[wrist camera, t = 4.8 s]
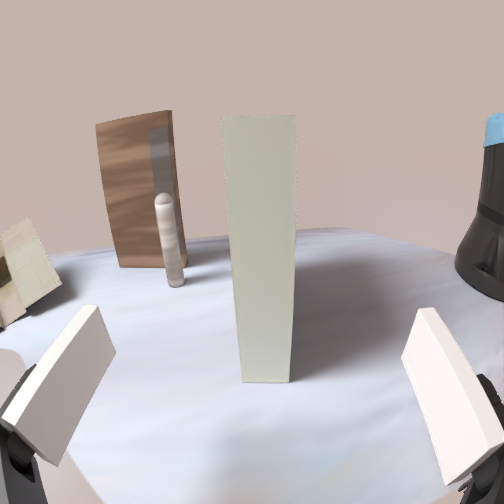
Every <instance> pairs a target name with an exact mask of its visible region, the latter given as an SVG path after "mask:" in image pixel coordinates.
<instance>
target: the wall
mask: <svg viewBox="0 0 504 504" xmlns="http://www.w3.org/2000/svg"><path fill="white" fill-rule="evenodd" d="M0 239H1V240H0V327H2V328H4V327H5V326H7V325H9V324H10V323H12V322H13V321H14V320H16V319H18V317H20V316H22V315H23V314H25V312H26V307H29V305H31V304H34V302H36V301H37V300H39V299H40V298H42V297H43V296H45V295H46V294H47V293H49V292H50V291H52V290H54V289H55V288H56V287H58V286H60V285H61V284H62V282H61V281H60V279H59V276H58V274H57V273H56V271H55V270H54V267H53V266H52V263H51V262H50V259H49V257H48V256H47V254H46V252H45V250H44V247H43V245H42V244H41V241H40V240H39V238H38V236H37V233H36V231H35V229H34V226H33V224H32V222H31V220H30V218H29V217H28V218H26V219H24V220H23V221H21V222H20V223H18V224H16V225H14V226H13V227H11V228H9V229H8V230H6V231H5V232H3V233H1V234H0Z"/></svg>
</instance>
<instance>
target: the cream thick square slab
mask: <svg viewBox="0 0 504 504" xmlns="http://www.w3.org/2000/svg"><path fill="white" fill-rule="evenodd" d="M221 119H222V138H223V154H224V170H225V186H226V201H227V215H228V229H229V242H230V255H231V267H232V279H233V291H234V302H235V313H236V324H237V335H238V345H239V355H240V365H241V375H242V382H247V383H289V372H290V358H291V342H292V325H293V305H294V280H295V247H296V124H295V115H256V116H236V117H222V118H221Z"/></svg>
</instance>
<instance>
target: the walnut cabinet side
mask: <svg viewBox="0 0 504 504" xmlns="http://www.w3.org/2000/svg"><path fill="white" fill-rule="evenodd" d="M96 136H97V145H98V155H99V162H100V170H101V177H102V183H103V189H104V195H105V201H106V206H107V212H108V217H109V222H110V227H111V232H112V236H113V241H114V245H115V249H116V254H117V258H118V262H119V266H120V267H138V268H166V273H167V278H168V283H169V286H170V287H180V286H182V285H184V283H185V279H184V273H183V268H185V267H186V265H187V263H188V258H187V251H186V245H185V237H184V231H183V223H182V215H181V207H180V198H179V189H178V180H177V170H176V162H175V161H176V159H175V149H174V137H173V122H172V111H170V110H165V111H159V112H153V113H147V114H142V115H137V116H131V117H126V118H122V119H117V120H113V121H108V122H104V123H100V124H96Z"/></svg>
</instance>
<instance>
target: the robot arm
mask: <svg viewBox="0 0 504 504" xmlns="http://www.w3.org/2000/svg"><path fill="white" fill-rule="evenodd" d="M483 148H485V151H484V163H483V172H482V181H481V188H480V194H479V201H478V207H477V212H476V216H475V218H474V220H473V222H472V224H471V225H470V228H469V229H468V231H467V233H466V235H465V236H464V238H463V240H462V242H461V244H460V245H459V247H458V250H457V254H456V258H455V268H456V270H457V272H458V273H459V274H460V276H461V277H462V278H463V279H464V280H465V281H466V282H468V283H469V284H470V285H471V286H473V287H474V288H476V289H477V290H479V291H481V292H482V293H484V294H486V295H488V296H490V297H493V298H495V299H498V300H501V301H504V113H496V114H493V115H491V116H490V117H489V118H488V120H487V122H486V132H485V143H484V144H483ZM115 354H116V351H115V349H114V346H113V344H112V341H111V339H110V337H109V334H108V332H107V329H106V326H105V324H104V321H103V318H102V316H101V313H100V310H99V307H98V306H95V305H85V304H84V306H83V307H82V308H81V309H80V310H79V312H78V313H77V314H76V315H75V316H74V318H73V319H72V320H71V321H70V323H69V324H68V325H67V326H66V328H65V329H64V330H63V331H62V333H61V334H60V335H59V336H58V338H57V339H56V340H55V341H54V343H53V344H52V345H51V347H50V348H49V349H48V351H47V352H46V353H45V355H44V356H43V357H42V359H41V360H40V361H39V363H38V364H34V365H33V366H32V367H31V368H29V369H28V370H27V371H26V372H25V373H24V375H23V376H22V377H21V379H20V382H18V383H17V385H16V386H15V389H13V390H12V392H11V393H10V395H9V396H8V398H7V399H6V401H5V402H4V404H3V405H2V407H1V408H0V504H48V502H47V499H46V496H45V492H44V489H43V485H42V481H41V477H40V473H39V469H38V465H37V461H36V459H35V457H34V456H33V455H34V453H35V452H36V453H37V454H38V455H39V456H40V457H41V458H42V459H43V460H45V461H47V462H49V463H51V464H53V465H55V466H57V467H58V465H59V463H60V461H61V458H62V456H63V454H64V452H65V450H66V448H67V446H68V444H69V441H70V439H71V437H72V435H73V433H74V431H75V429H76V427H77V425H78V423H79V421H80V419H81V417H82V415H83V413H84V411H85V409H86V407H87V405H88V404H89V402H90V400H91V398H92V396H93V394H94V392H95V390H96V388H97V387H98V385H99V383H100V381H101V379H102V377H103V376H104V374H105V372H106V370H107V368H108V366H109V365H110V363H111V361H112V359H113V358H114V356H115ZM401 359H402V361H403V364H404V366H405V369H406V371H407V374H408V376H409V379H410V381H411V384H412V386H413V389H414V392H415V394H416V397H417V400H418V402H419V405H420V408H421V410H422V413H423V416H424V419H425V422H426V425H427V428H428V431H429V434H430V437H431V440H432V443H433V446H434V449H435V453H436V456H437V459H438V463H439V466H440V470H441V474H442V477H443V481H444V485H445V486H447V485H450V484H453V483H455V482H458V481H460V480H462V479H464V478H465V477H466V476H467V475H469V474H470V473H472V476H473V477H472V478H471V479H470V480H468V481H467V482H466V483H464V484H463V485H462V486H461V487H460V488H459V490H458V491H459V492H460V491H462V490H463V489H465V488H466V487H467V489H466V490H465V491H464V492H463V493H464V496H463V498H462V500H461V502H460V504H504V405H503V403H501V399H500V397H499V395H497V392H496V390H495V388H494V386H493V384H492V383H491V381H489V380H488V379H487V378H486V377H485V376H484V375H483V374H479V375H475V373H474V371H473V369H472V368H471V366H470V364H469V362H468V361H467V359H466V357H465V356H464V354H463V352H462V351H461V349H460V347H459V346H458V344H457V342H456V341H455V339H454V338H453V336H452V334H451V333H450V331H449V330H448V328H447V327H446V325H445V324H444V322H443V321H442V319H441V318H440V316H439V315H438V313H437V312H436V310H435V309H434V307H431V308H420V309H418V311H417V314H416V317H415V321H414V324H413V326H412V329H411V332H410V335H409V338H408V341H407V343H406V346H405V349H404V351H403V354H402V356H401Z"/></svg>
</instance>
